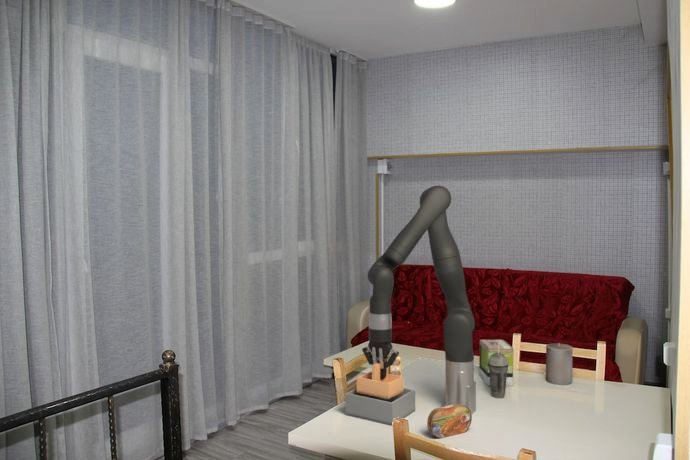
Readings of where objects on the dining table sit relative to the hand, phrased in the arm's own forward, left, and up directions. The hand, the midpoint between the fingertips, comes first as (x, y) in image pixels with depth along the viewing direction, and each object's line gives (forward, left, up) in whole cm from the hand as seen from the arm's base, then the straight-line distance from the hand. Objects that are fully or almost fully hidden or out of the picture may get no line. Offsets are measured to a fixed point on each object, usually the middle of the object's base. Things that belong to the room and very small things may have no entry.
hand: (380, 378), depth 187 cm
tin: (-26, +4, -12) cm, 29 cm away
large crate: (0, 0, -11) cm, 11 cm away
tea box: (-20, -55, -12) cm, 60 cm away
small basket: (0, 0, -5) cm, 5 cm away
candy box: (+4, -16, -12) cm, 20 cm away
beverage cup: (-27, -37, -12) cm, 47 cm away
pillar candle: (-41, -67, -12) cm, 79 cm away
